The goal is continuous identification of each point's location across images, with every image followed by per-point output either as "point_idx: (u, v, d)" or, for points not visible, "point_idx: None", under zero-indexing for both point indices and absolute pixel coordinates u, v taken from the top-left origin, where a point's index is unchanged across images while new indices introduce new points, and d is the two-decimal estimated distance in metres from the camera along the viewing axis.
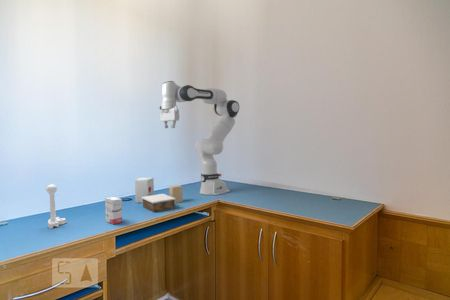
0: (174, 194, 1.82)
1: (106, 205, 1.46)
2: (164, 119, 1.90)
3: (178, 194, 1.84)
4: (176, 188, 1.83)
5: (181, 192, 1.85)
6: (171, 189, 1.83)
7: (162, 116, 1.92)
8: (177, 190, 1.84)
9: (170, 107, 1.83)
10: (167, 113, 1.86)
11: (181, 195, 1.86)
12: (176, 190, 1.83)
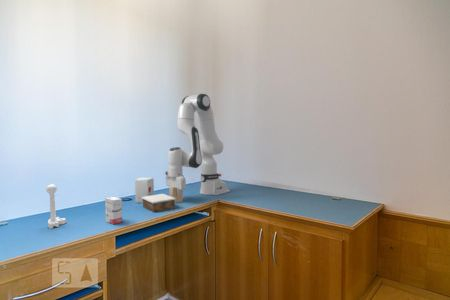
0: (174, 194, 1.82)
1: (106, 205, 1.46)
2: (170, 185, 1.87)
3: None
4: (176, 188, 1.83)
5: (181, 192, 1.85)
6: (171, 188, 1.83)
7: (168, 181, 1.89)
8: (177, 190, 1.84)
9: (176, 175, 1.81)
10: (173, 180, 1.84)
11: (181, 195, 1.86)
12: (176, 190, 1.83)
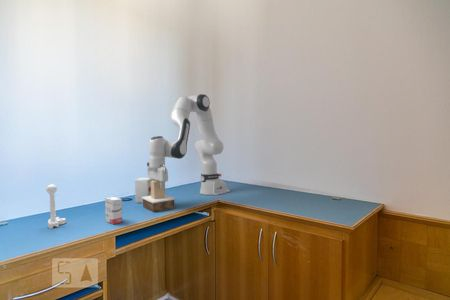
0: (156, 189, 1.68)
1: (106, 205, 1.46)
2: (152, 177, 1.73)
3: (160, 189, 1.70)
4: (158, 183, 1.69)
5: (164, 187, 1.71)
6: (152, 183, 1.69)
7: (150, 173, 1.75)
8: None
9: (158, 166, 1.66)
10: (155, 171, 1.69)
11: (164, 190, 1.71)
12: (158, 185, 1.69)
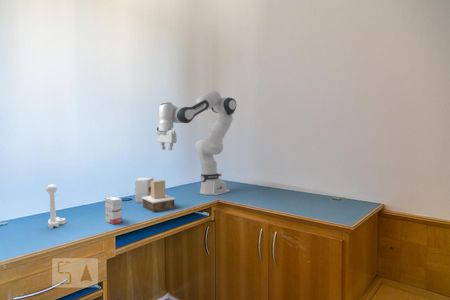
0: (156, 189, 1.68)
1: (106, 205, 1.46)
2: (161, 140, 1.87)
3: (160, 189, 1.70)
4: (158, 183, 1.69)
5: (164, 187, 1.71)
6: (152, 183, 1.69)
7: (159, 137, 1.89)
8: (159, 185, 1.69)
9: (167, 129, 1.81)
10: (164, 135, 1.84)
11: (164, 190, 1.71)
12: (158, 185, 1.69)
